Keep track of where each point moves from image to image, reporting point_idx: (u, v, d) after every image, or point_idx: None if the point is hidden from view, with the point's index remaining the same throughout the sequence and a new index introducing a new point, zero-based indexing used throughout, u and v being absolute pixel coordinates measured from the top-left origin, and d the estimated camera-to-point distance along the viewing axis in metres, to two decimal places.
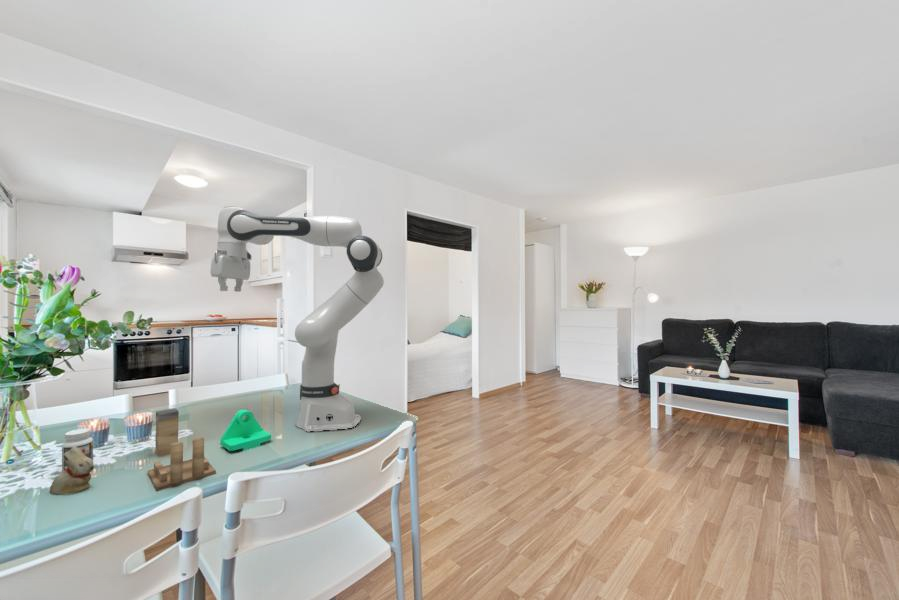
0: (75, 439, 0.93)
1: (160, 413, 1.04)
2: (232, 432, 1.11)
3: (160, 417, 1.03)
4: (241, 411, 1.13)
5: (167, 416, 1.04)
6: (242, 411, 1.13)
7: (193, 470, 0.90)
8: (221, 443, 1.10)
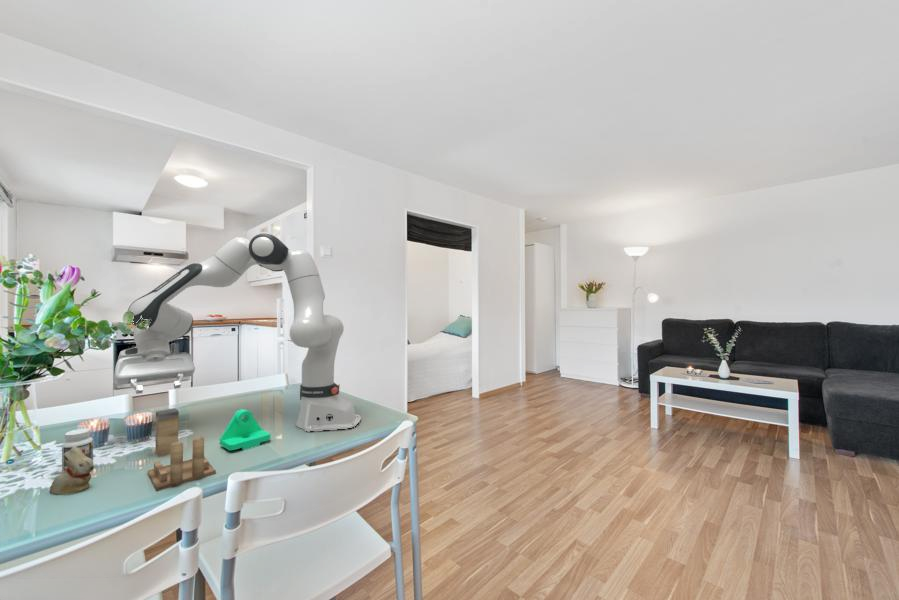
0: (75, 439, 0.93)
1: (160, 413, 1.04)
2: (231, 432, 1.12)
3: (160, 417, 1.03)
4: (240, 411, 1.14)
5: (167, 416, 1.04)
6: (241, 411, 1.14)
7: (193, 470, 0.90)
8: (220, 443, 1.10)
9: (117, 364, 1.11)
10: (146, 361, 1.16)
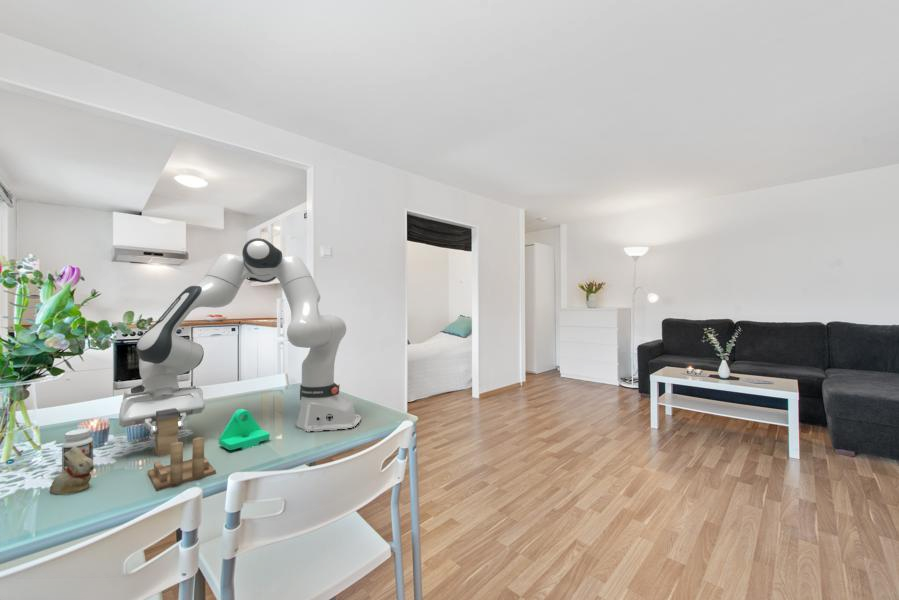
0: (75, 439, 0.93)
1: (160, 413, 1.04)
2: (230, 432, 1.12)
3: (160, 417, 1.03)
4: (239, 410, 1.14)
5: (167, 416, 1.04)
6: (240, 410, 1.14)
7: (193, 470, 0.90)
8: (220, 442, 1.10)
9: (122, 404, 1.02)
10: (153, 399, 1.08)
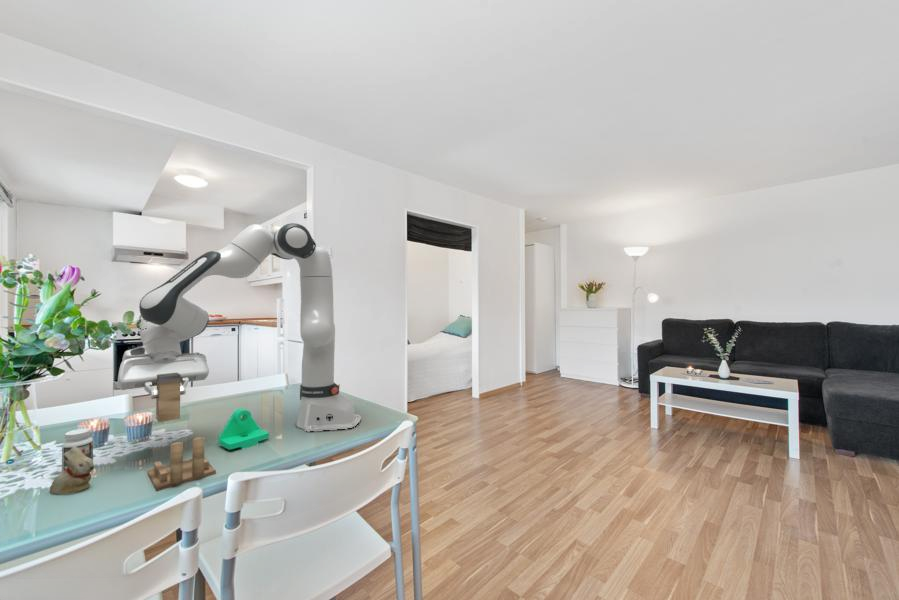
0: (75, 439, 0.93)
1: (161, 376, 0.98)
2: (229, 431, 1.12)
3: (161, 380, 0.97)
4: (238, 410, 1.14)
5: (168, 379, 0.98)
6: (239, 410, 1.14)
7: (193, 470, 0.90)
8: (219, 442, 1.10)
9: (121, 366, 0.96)
10: (154, 363, 1.02)
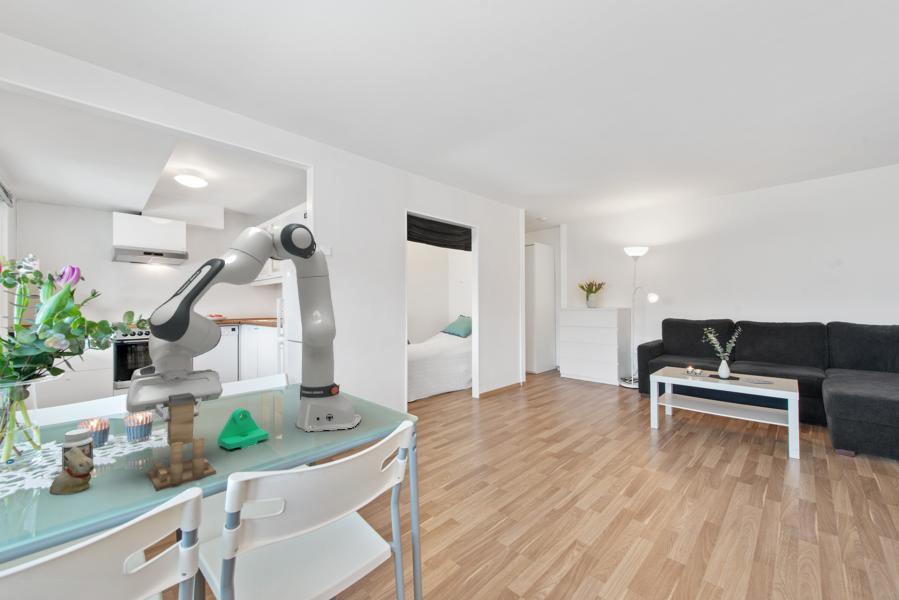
0: (75, 439, 0.93)
1: (174, 398, 0.91)
2: (229, 431, 1.12)
3: (174, 402, 0.91)
4: (238, 410, 1.14)
5: (181, 401, 0.92)
6: (239, 410, 1.14)
7: (193, 470, 0.90)
8: (218, 442, 1.10)
9: (131, 387, 0.90)
10: (165, 382, 0.95)
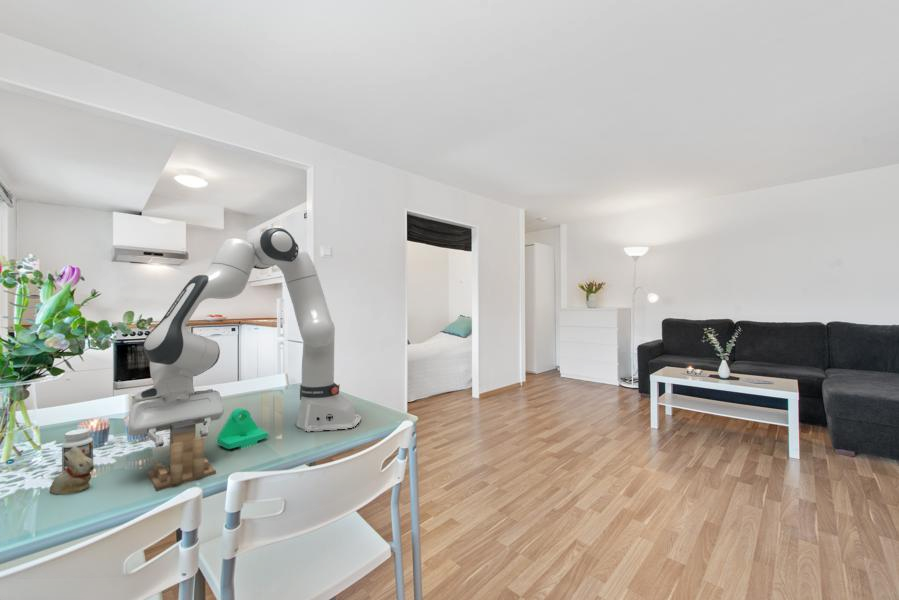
0: (75, 439, 0.93)
1: (175, 426, 0.92)
2: (228, 431, 1.13)
3: (175, 431, 0.91)
4: (237, 410, 1.15)
5: (183, 429, 0.92)
6: (238, 410, 1.15)
7: (193, 470, 0.90)
8: (218, 442, 1.11)
9: (132, 411, 0.90)
10: (166, 404, 0.96)
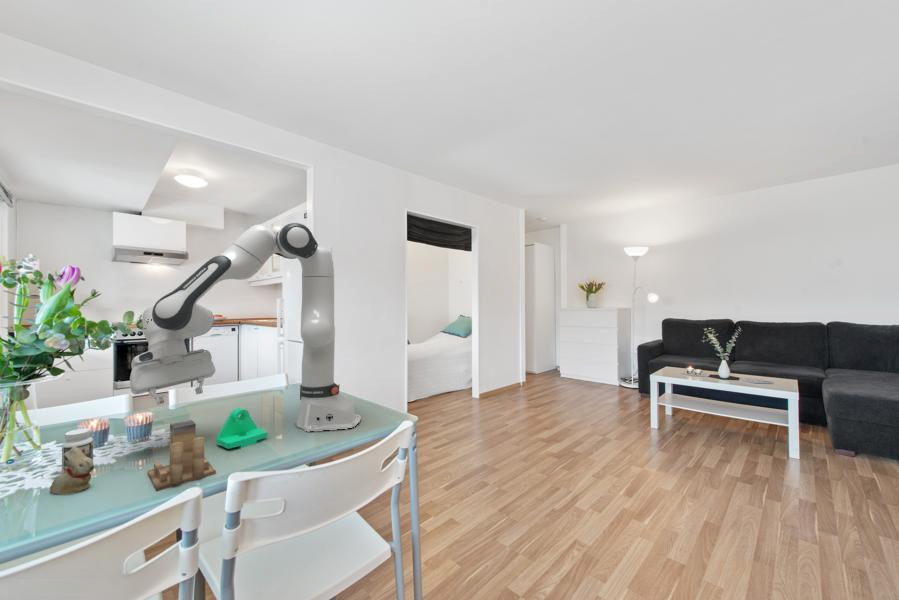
0: (75, 439, 0.93)
1: (175, 426, 0.92)
2: (228, 430, 1.13)
3: (175, 431, 0.91)
4: (237, 409, 1.15)
5: (183, 429, 0.92)
6: (238, 409, 1.15)
7: (193, 470, 0.90)
8: (217, 441, 1.11)
9: (133, 373, 1.01)
10: (163, 366, 1.06)
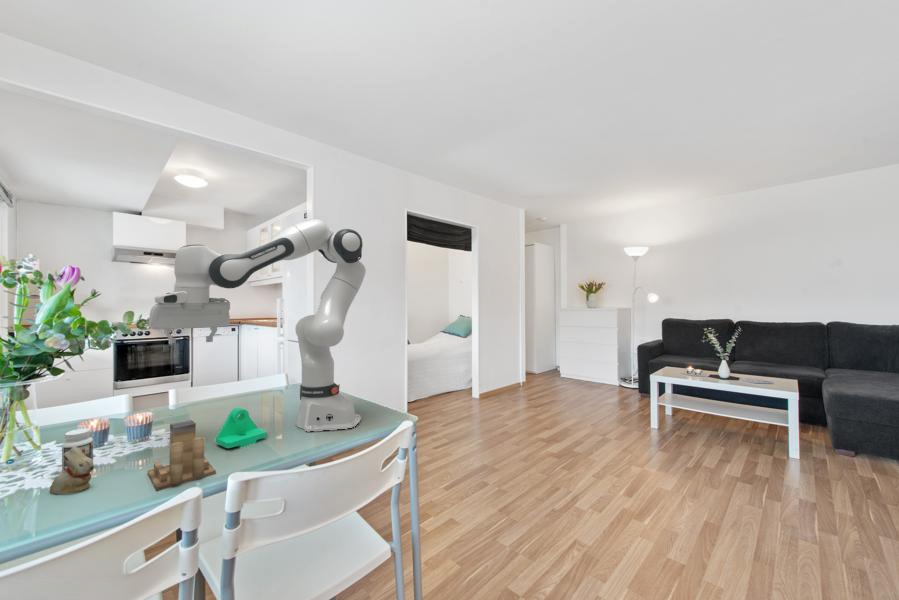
0: (75, 439, 0.93)
1: (175, 426, 0.92)
2: (227, 430, 1.13)
3: (175, 431, 0.91)
4: (236, 409, 1.15)
5: (183, 429, 0.92)
6: (237, 409, 1.15)
7: (193, 470, 0.90)
8: (217, 441, 1.11)
9: (154, 312, 1.03)
10: (183, 310, 1.09)
